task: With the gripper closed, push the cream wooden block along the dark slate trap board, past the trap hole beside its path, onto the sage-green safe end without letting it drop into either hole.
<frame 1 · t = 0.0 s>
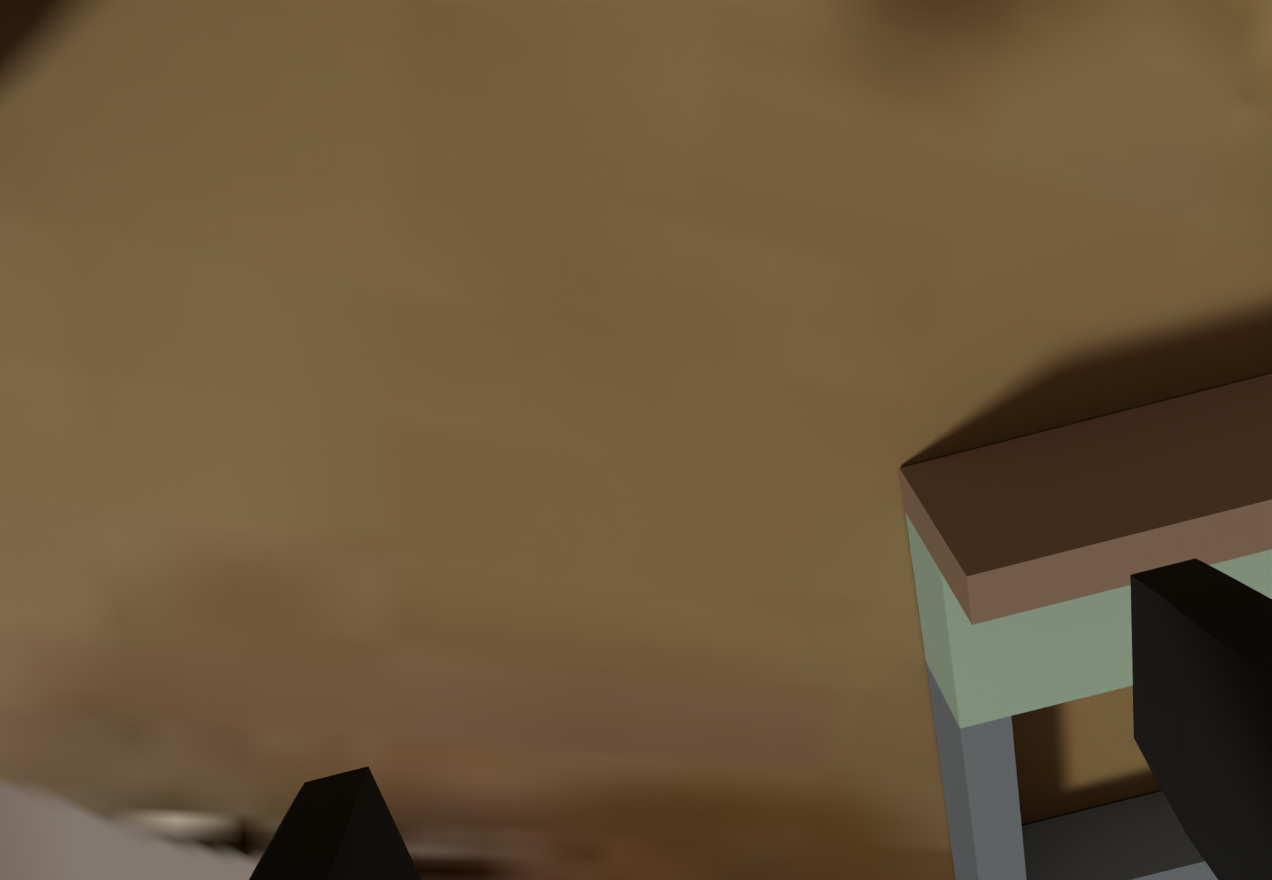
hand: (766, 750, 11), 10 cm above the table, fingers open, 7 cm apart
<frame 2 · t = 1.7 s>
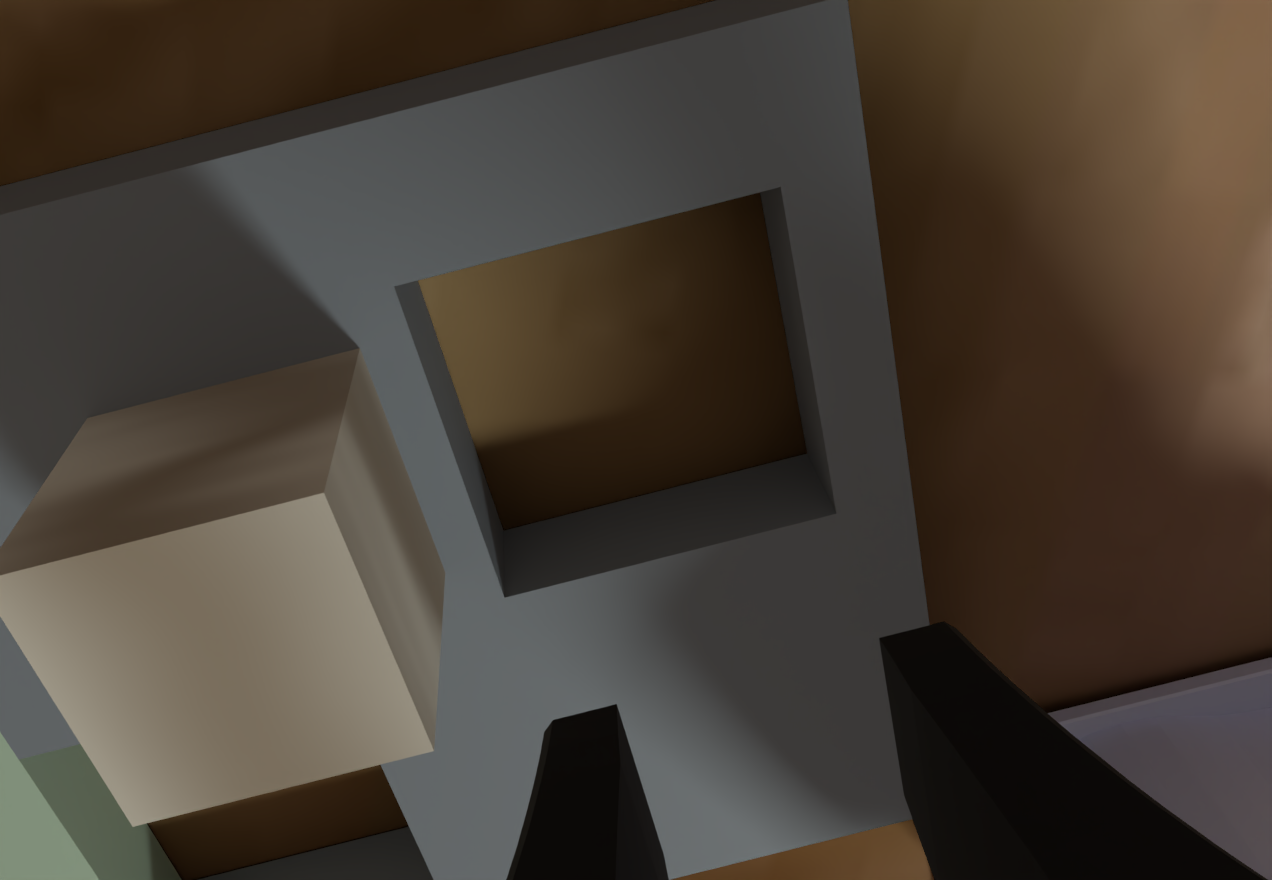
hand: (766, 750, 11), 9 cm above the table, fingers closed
trap board: (320, 564, 20), on the table
block: (275, 499, 17), point 2 cm above the table, touching trap board
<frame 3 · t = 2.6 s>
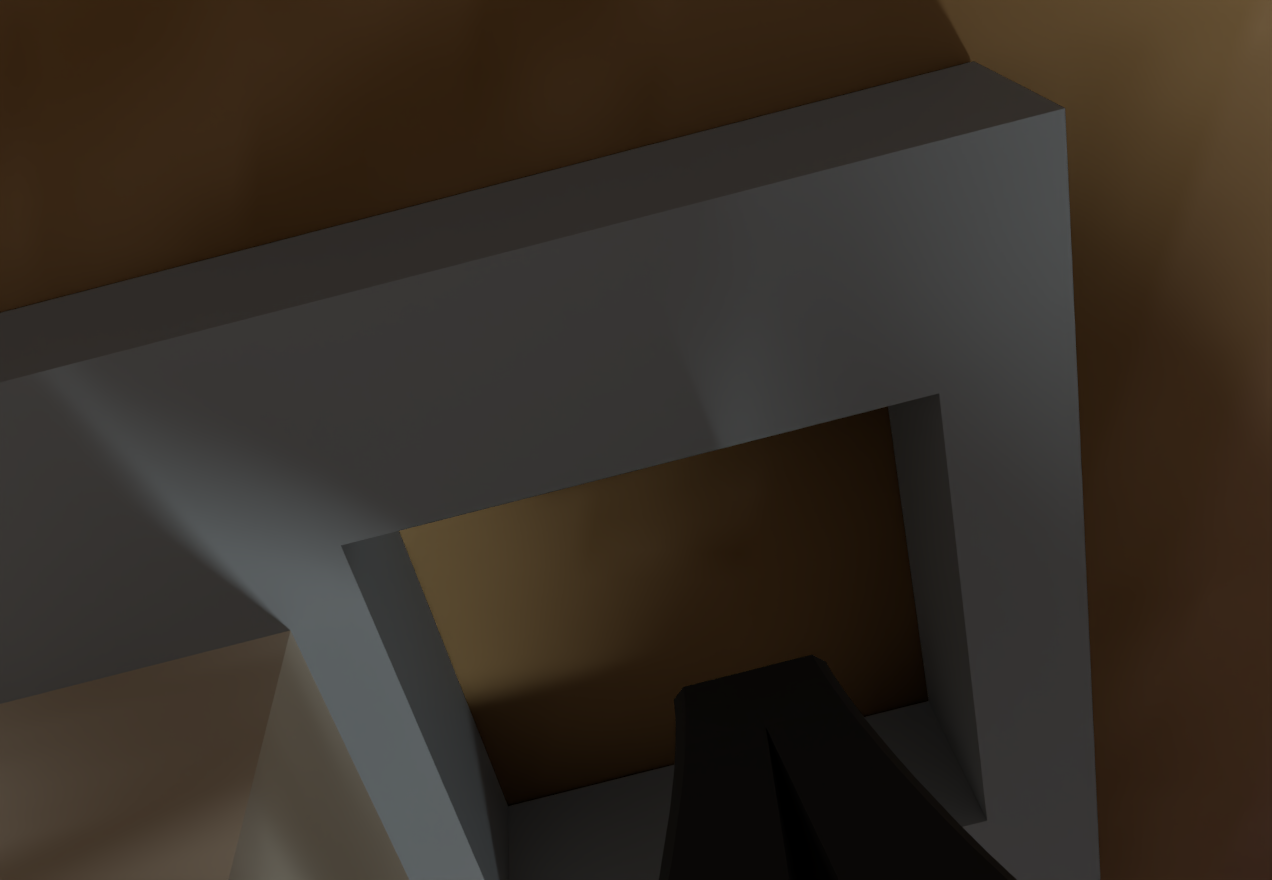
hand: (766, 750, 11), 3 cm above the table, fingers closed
trap board: (254, 854, 15), on the table
block: (172, 830, 12), point 2 cm above the table, touching trap board
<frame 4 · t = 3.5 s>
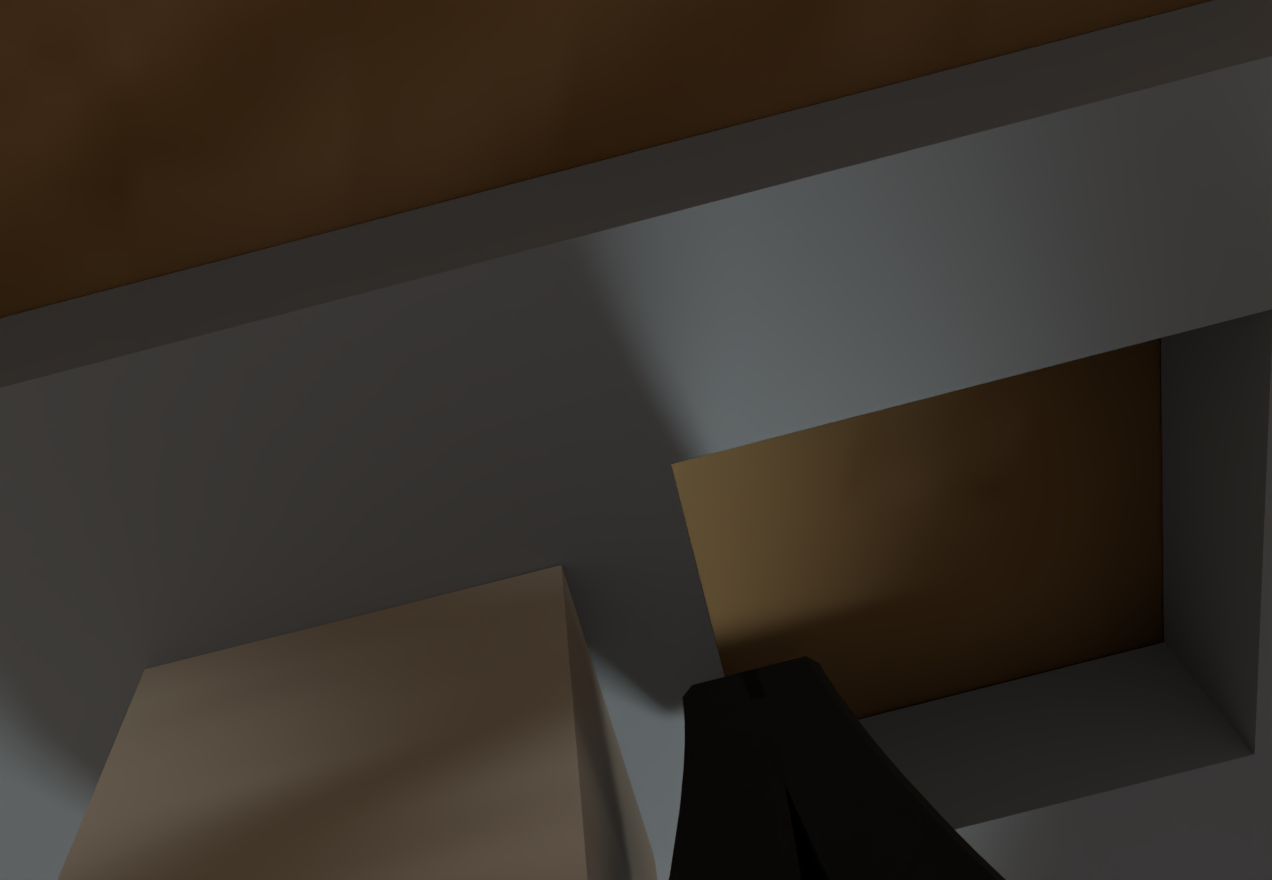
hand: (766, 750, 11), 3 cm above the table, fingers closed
trap board: (488, 798, 15), on the table
block: (419, 770, 12), point 2 cm above the table, touching gripper, trap board
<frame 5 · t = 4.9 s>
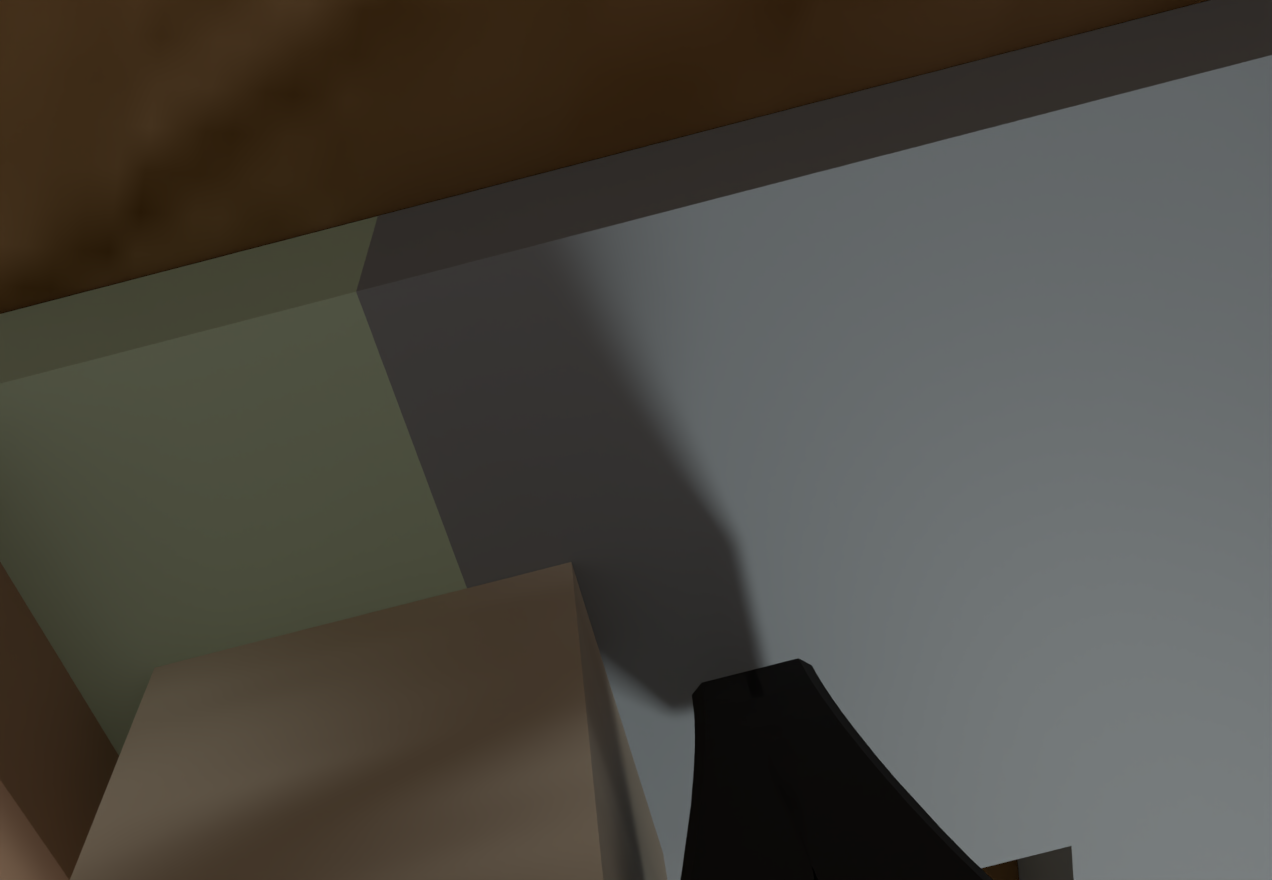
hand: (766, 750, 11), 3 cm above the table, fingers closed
trap board: (979, 672, 15), on the table
block: (429, 768, 12), point 2 cm above the table, touching gripper, trap board
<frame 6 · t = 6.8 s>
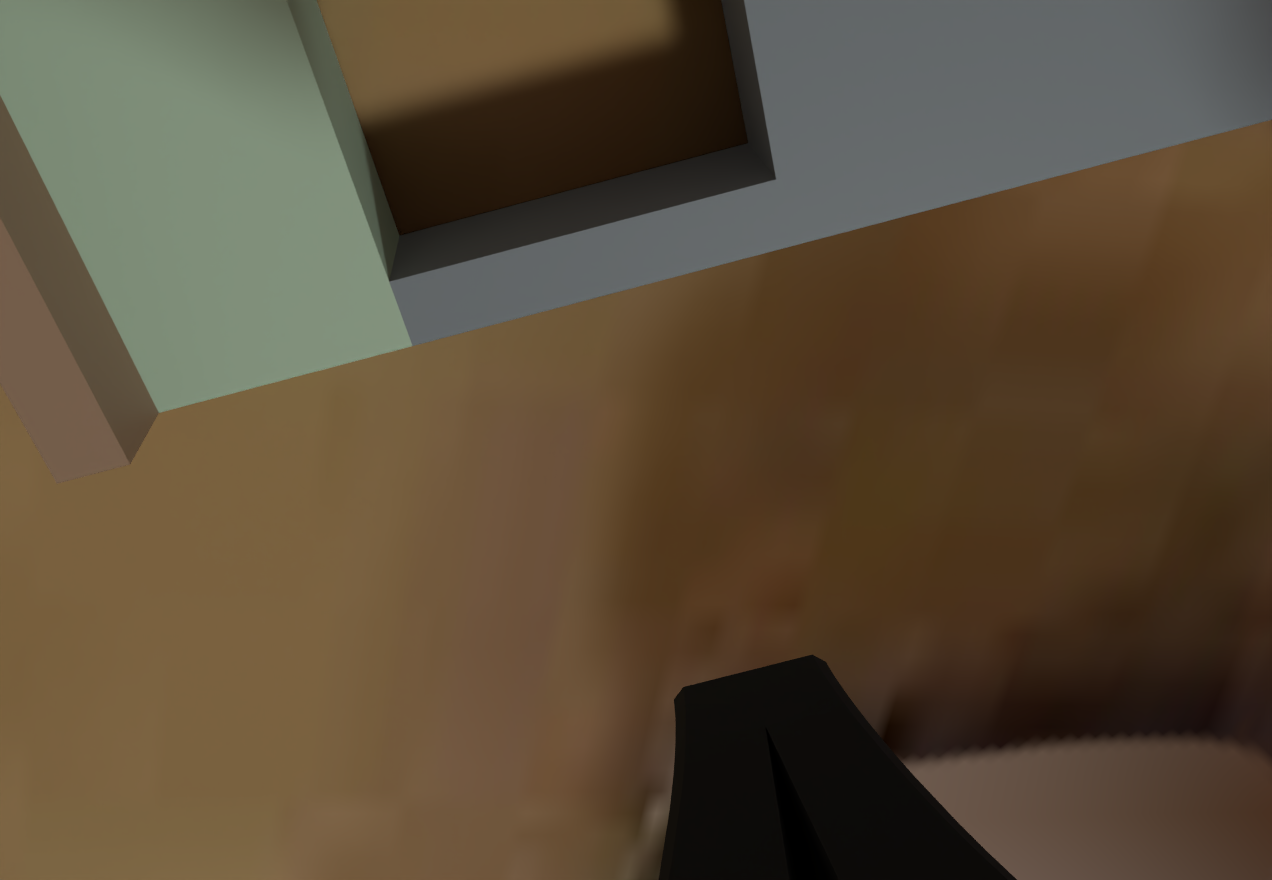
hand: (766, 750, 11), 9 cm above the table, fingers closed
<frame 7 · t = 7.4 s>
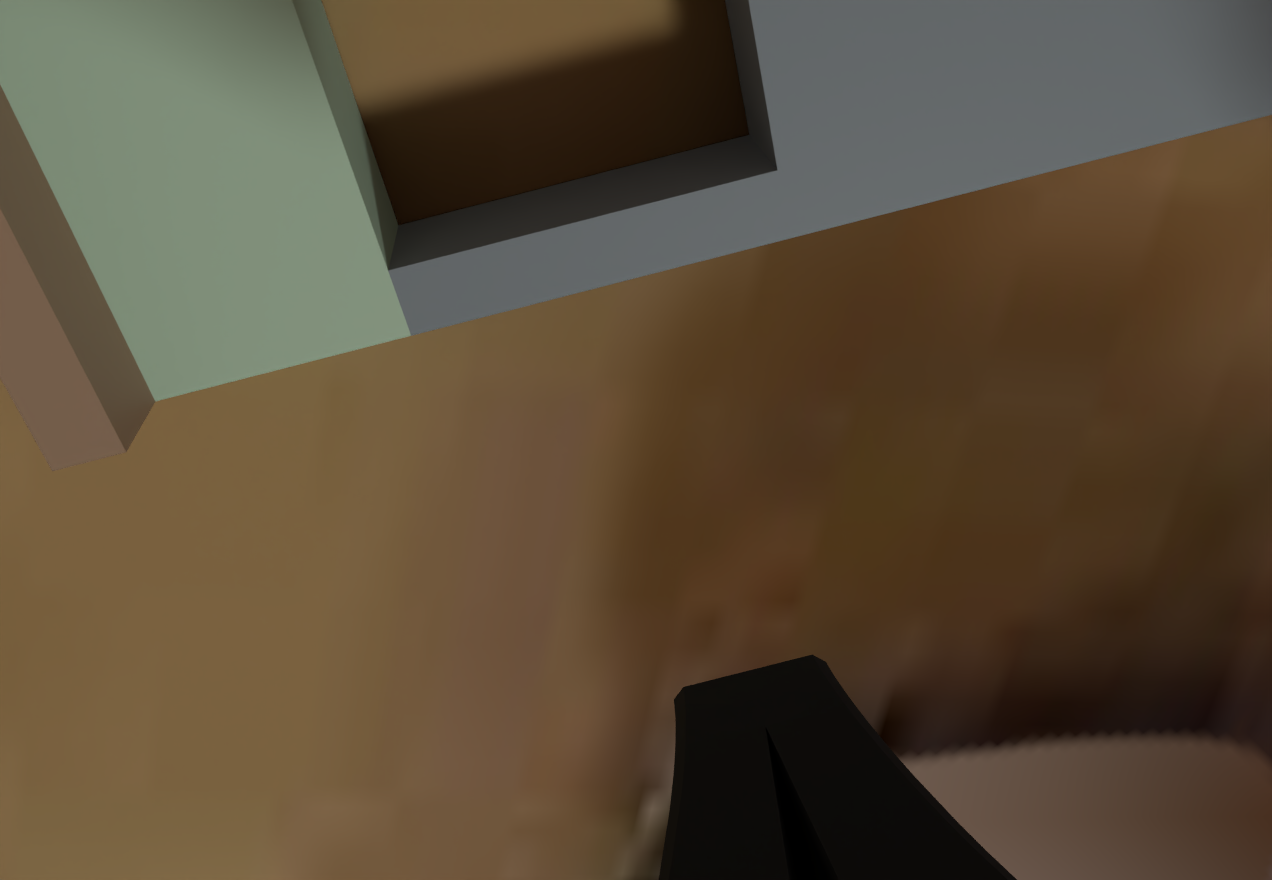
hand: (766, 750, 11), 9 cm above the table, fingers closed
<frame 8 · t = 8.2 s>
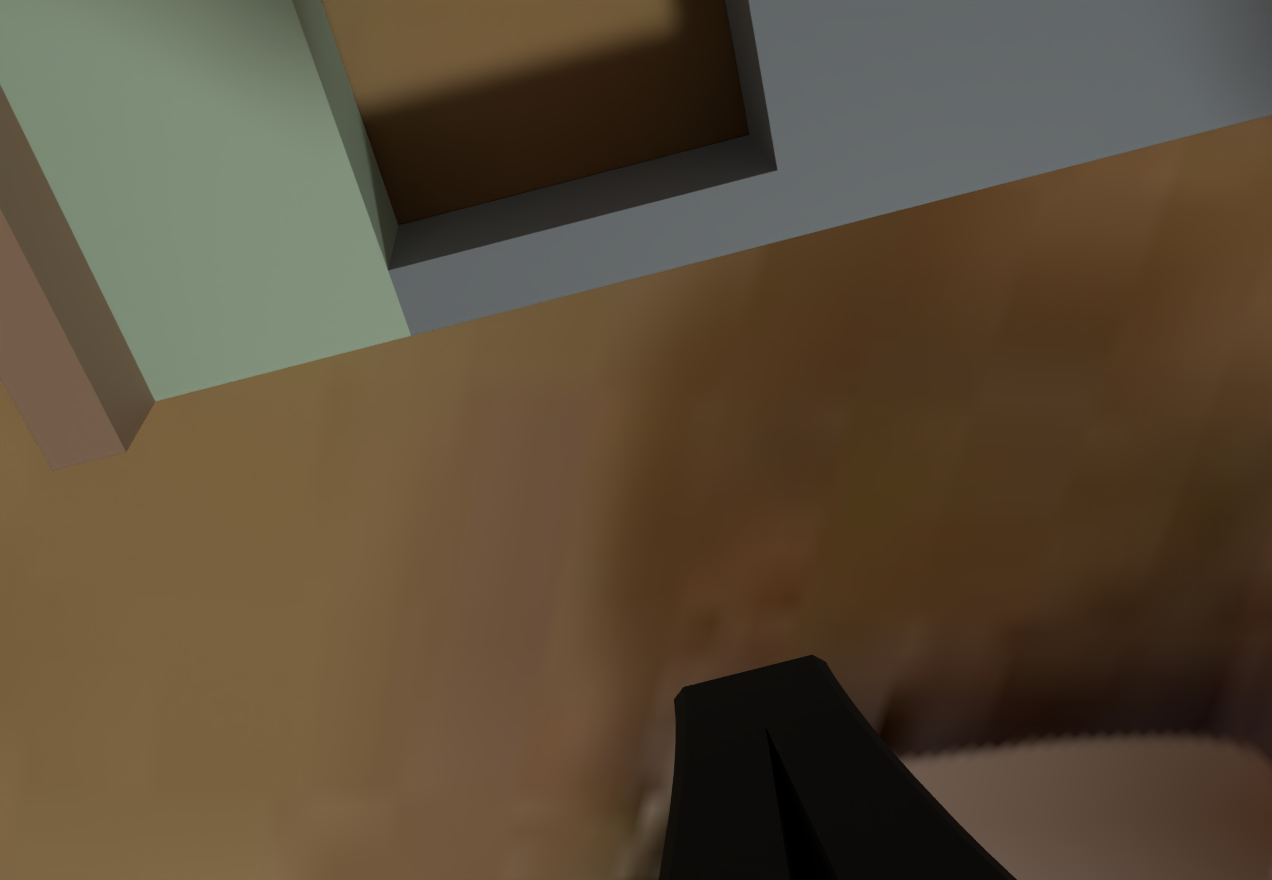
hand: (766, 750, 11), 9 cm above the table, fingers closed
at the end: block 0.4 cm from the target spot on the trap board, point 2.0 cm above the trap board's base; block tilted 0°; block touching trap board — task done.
